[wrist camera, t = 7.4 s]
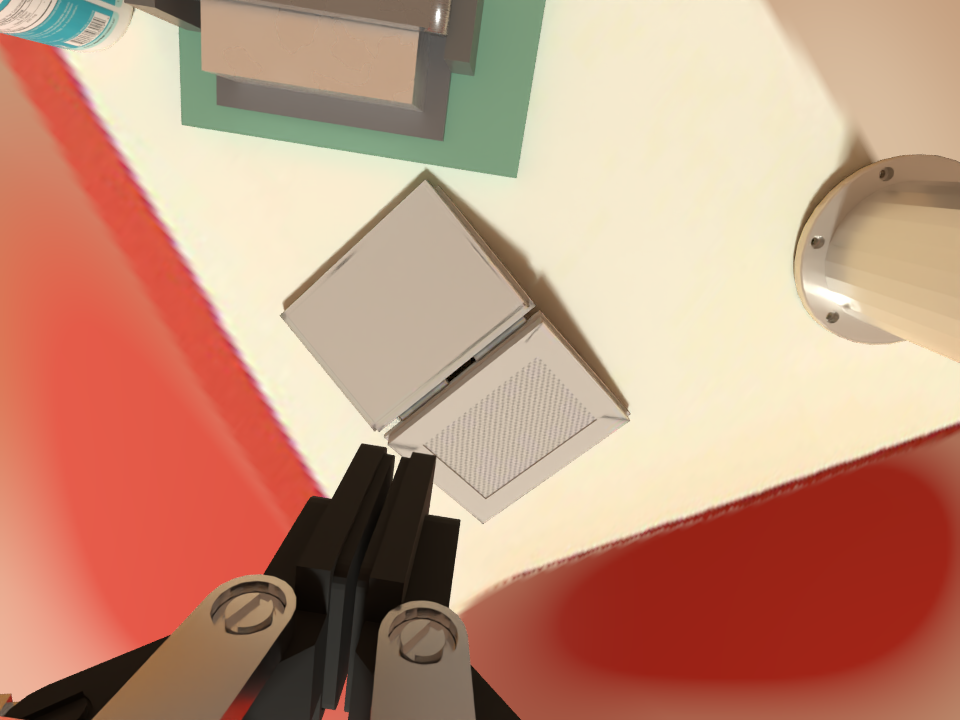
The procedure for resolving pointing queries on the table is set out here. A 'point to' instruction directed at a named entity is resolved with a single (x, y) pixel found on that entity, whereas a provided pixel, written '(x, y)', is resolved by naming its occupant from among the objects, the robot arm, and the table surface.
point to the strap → (377, 12)
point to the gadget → (453, 356)
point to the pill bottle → (67, 22)
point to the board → (469, 108)
